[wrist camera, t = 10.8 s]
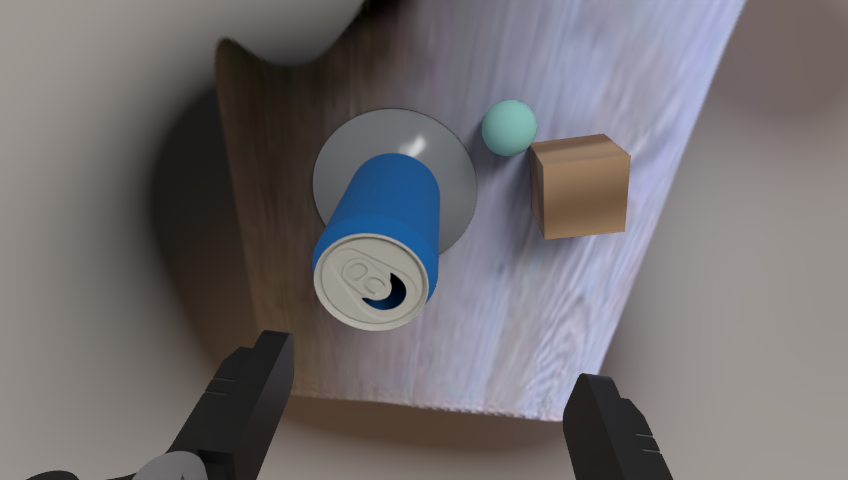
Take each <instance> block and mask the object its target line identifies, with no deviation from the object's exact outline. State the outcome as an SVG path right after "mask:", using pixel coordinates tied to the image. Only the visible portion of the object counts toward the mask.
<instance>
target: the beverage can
mask: <svg viewBox="0 0 848 480" xmlns="http://www.w3.org/2000/svg"><path fill="white" fill-rule="evenodd" d="M439 223H440V190H439V186H438V183H437V181H436V179H435V177H434V175H433V174H432V172H431V171H430V170H429V169H428V168H427V167H426V166H425V165H424V164H423V163H422V162H420V161H419V160H417V159H415V158H413V157H411V156H408V155H405V154H400V153H386V154H381V155H378V156H375V157H373V158H371V159H369V160H367V161H366V162H365V163H363V164H362V165H361V166H360V167H359V168H358V170H357V171H356V173H355V174H354V176H353V178H352V180H351V181H350V183H349V185H348V187H347V189H346V191H345V193H344V194H343V196H342V198H341V200H340V202H339V204H338V205H337V207H336V209H335V211H334V213H333V215H332V217H331V218H330V220H329V222H328V224H327V226H326V228H325V229H324V231H323V233H322V235H321V237H320V239H319V241H318V242H317V245H316V247H315V249H314V253H313V260H312V270H313V275H314V286H315V290H316V293H317V296H318V298H319V300H320V301H321V303H322V304H323V306H324V307H325V308H326V309H327V311H328V312H329V313H330V314H332V315H333V316H334V317H335V318H337V319H338V320H340V321H341V322H343V323H345V324H347V325H349V326H352V327H355V328H358V329H362V330H368V331H385V330H391V329H395V328H398V327H400V326H403V325H404V324H406V323H408V322H410V321H411V320H412V319H414V318H415V317H416V316H417V315H418V314H419V312H420V311H421V310H422V308H423V307H424V305H425V304H426V303H427V301H428V300H429V299H430V297H431V295H432V294H433V292H434V289H435V287H436V283H437V279H438V258H439Z"/></svg>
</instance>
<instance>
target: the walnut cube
mask: <svg viewBox="0 0 848 480" xmlns="http://www.w3.org/2000/svg"><path fill="white" fill-rule="evenodd" d="M630 159H631V156H630V155H629V154H628V153H627V152H626V151H624V150H623V149H622V148H621V147H619V146H618V145H617V144H616V143H614V142H613V141H612V140H611V139H610V138H608V137H607V136H606V135H605V134H598V135H591V136H583V137H575V138H567V139H559V140H551V141H544V142H536V143H532V144H531V145H530V176H531V208H532V211H533V213H534V216H535V218H536V220H537V223H538V225H539V228H540V230H541V232H542V235H543V237H544V240H548V239H558V238H567V237H577V236H587V235H596V234H606V233H616V232H625V222H626V209H627V197H628V184H629V171H630Z"/></svg>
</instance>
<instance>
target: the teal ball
mask: <svg viewBox="0 0 848 480" xmlns="http://www.w3.org/2000/svg"><path fill="white" fill-rule="evenodd" d="M536 131H537V122H536V118H535V116H534V114H533V112H532V110H531V109H530V108H529V107H528V106H527V105H525V104H524V103H522V102H519V101H516V100H505V101H502V102H499V103H497V104H495V105H494V106H493V107H491V108H490V109H489V110H488V112H487V113H486V115H485V117H484V119H483V122H482V137H483V140H484V142H485V144H486V145H487V147H488V148H489V149H490V150H491V151H493V152H494V153H496V154H499V155H502V156H513V155H517V154H520V153H522V152H523V151H525V150H526V149H527V148H528V147H529V146H530V145H531V144H532V142H533V140H534V138H535V135H536Z"/></svg>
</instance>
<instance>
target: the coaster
mask: <svg viewBox="0 0 848 480" xmlns="http://www.w3.org/2000/svg"><path fill="white" fill-rule="evenodd" d="M386 153H400V154H405V155H408V156H411V157H413V158H415V159H417V160H419V161H420V162H422V163H423V164H424V165H425V166H426V167H427V168H428V169H429V170H430V171H431V172H432V174H433V175H434V177H435V179H436V181H437V183H438V186H439V190H440V223H439V254H440V253H442V252H444V251H445V250H447V249H448V248H449V247H451V246H452V245H453V244H454V243H455V242H456V241H457V240H458V239H459V238H460V237H461V236H462V234H463V233H464V232H465V230H466V229H467V227H468V225H469V223H470V221H471V219H472V217H473V214H474V211H475V207H476V201H477V181H476V175H475V170H474V167H473V163H472V161H471V158H470V156H469V154H468V152H467V150H466V149H465V147H464V146H463V144H462V143H461V141H460V140H459V139H458V138H457V137H456V136H455V134H454V133H452V132H451V131H450V130H449V129H448V128H447V127H446V126H444V125H443V124H441V123H440V122H438V121H437V120H435V119H433V118H431V117H429V116H427V115H425V114H422V113H419V112H416V111H412V110H406V109H398V108H386V109H378V110H373V111H369V112H366V113H363V114H360V115H358V116H356V117H354V118H352V119H350V120H349V121H347V122H346V123H344V124H343V125H342V126H340V127H339V128H338V129H337V130H336V131H335V132H334V133H333V134H332V135H331V136H330V138H329V139H328V140H327V142H326V143H325V144H324V146H323V148H322V150H321V151H320V153H319V156H318V158H317V161H316V164H315V169H314V173H313V193H314V198H315V203H316V206H317V209H318V212H319V214H320V216H321V218H322V220H323V222H324V223H325V225H326V226H327V224H328V222H329V220H330V218H331V217H332V215H333V213H334V211H335V209H336V207H337V205H338V204H339V202H340V200H341V198H342V196H343V194H344V193H345V191H346V189H347V187H348V185H349V183H350V181H351V180H352V178H353V176H354V174H355V173H356V171H357V170H358V168H359V167H360V166H361V165H362V164H363V163H365V162H366V161H367V160H369V159H371V158H373V157H375V156H378V155H381V154H386Z"/></svg>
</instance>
